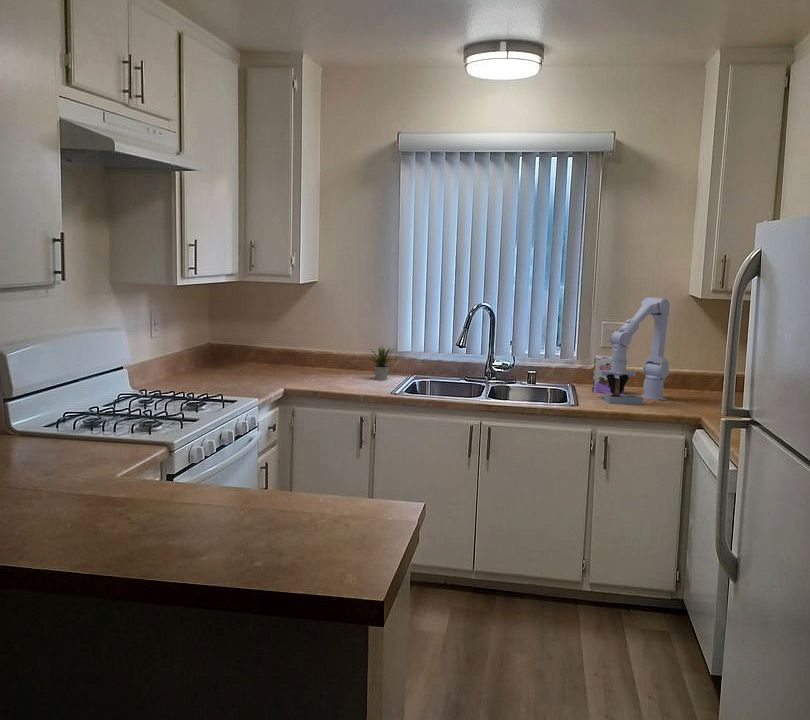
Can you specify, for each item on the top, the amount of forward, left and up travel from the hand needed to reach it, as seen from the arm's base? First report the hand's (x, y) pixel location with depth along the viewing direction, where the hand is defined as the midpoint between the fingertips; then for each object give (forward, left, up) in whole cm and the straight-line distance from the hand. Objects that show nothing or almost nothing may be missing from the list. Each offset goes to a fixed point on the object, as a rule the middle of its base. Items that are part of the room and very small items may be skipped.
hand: (616, 392), depth 335 cm
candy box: (-23, +4, -5) cm, 24 cm away
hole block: (0, +3, -4) cm, 5 cm away
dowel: (0, 0, -3) cm, 3 cm away
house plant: (-45, -95, -4) cm, 105 cm away
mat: (-8, +1, -4) cm, 9 cm away
